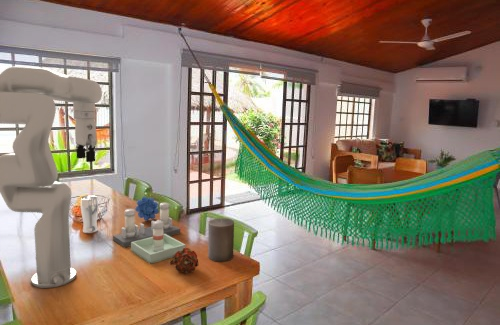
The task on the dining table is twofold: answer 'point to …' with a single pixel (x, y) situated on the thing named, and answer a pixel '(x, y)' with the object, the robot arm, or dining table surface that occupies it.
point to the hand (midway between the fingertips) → (85, 159)
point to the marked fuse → (158, 236)
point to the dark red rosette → (185, 260)
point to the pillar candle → (221, 239)
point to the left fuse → (130, 223)
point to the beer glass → (89, 213)
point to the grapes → (147, 208)
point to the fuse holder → (143, 233)
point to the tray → (146, 251)
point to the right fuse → (164, 214)
